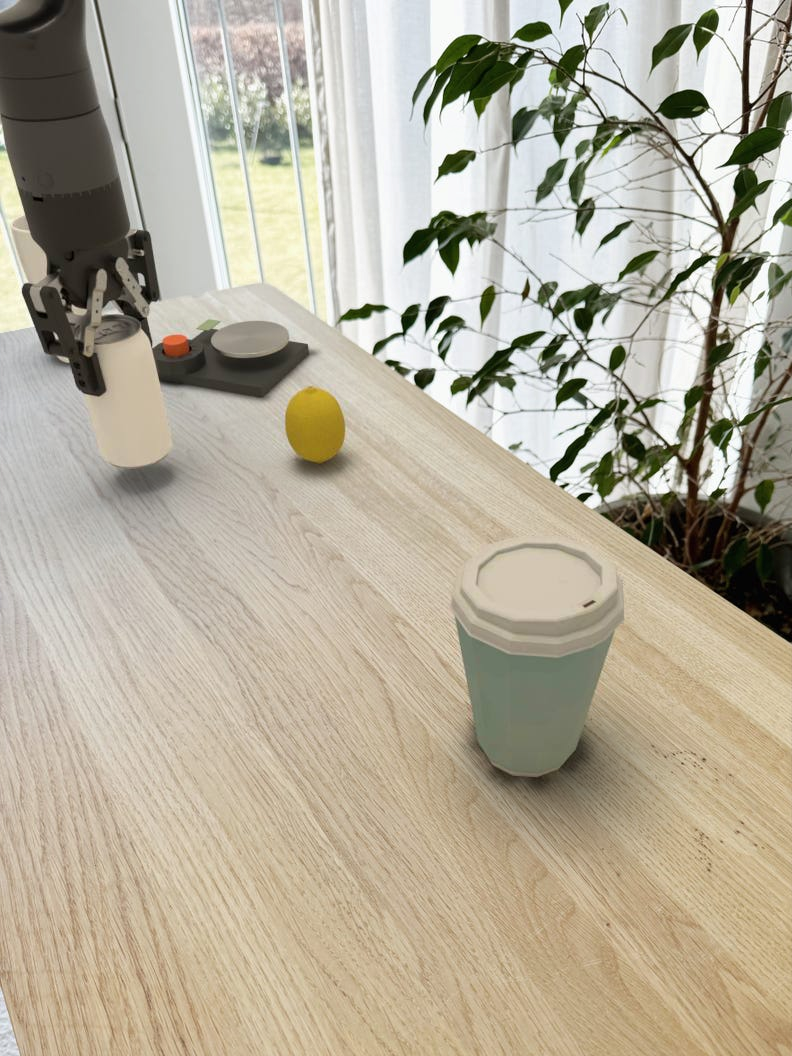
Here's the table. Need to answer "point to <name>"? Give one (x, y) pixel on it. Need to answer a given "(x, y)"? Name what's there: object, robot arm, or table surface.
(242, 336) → the weighing pan
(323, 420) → the lemon
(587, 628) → the disposable coffee cup
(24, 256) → the drinking glass
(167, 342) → the tare button
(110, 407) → the can
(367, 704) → the table surface
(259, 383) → the scale
